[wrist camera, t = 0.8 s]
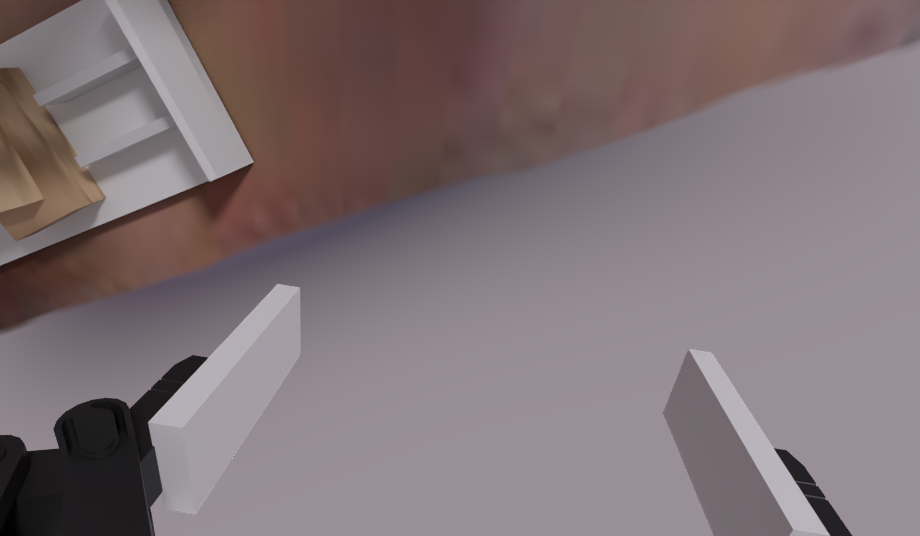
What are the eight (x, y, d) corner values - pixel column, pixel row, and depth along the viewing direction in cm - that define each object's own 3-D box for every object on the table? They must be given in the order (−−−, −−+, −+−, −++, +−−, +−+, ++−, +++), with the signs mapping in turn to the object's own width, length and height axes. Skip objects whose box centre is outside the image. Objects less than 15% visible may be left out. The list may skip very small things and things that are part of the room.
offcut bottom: (-48, 102, 43) (-72, 104, 41) (19, 67, 41) (-4, 68, 40) (42, 224, 47) (23, 231, 46) (106, 197, 46) (89, 204, 44)
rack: (-156, 136, 47) (-244, 148, 41) (150, -30, 39) (92, -43, 33) (-37, 280, 53) (-100, 307, 47) (253, 162, 44) (218, 178, 39)
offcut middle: (-57, 121, 42) (-82, 125, 40) (2, 83, 40) (-22, 85, 38) (35, 233, 46) (15, 241, 44) (92, 203, 44) (74, 209, 42)
